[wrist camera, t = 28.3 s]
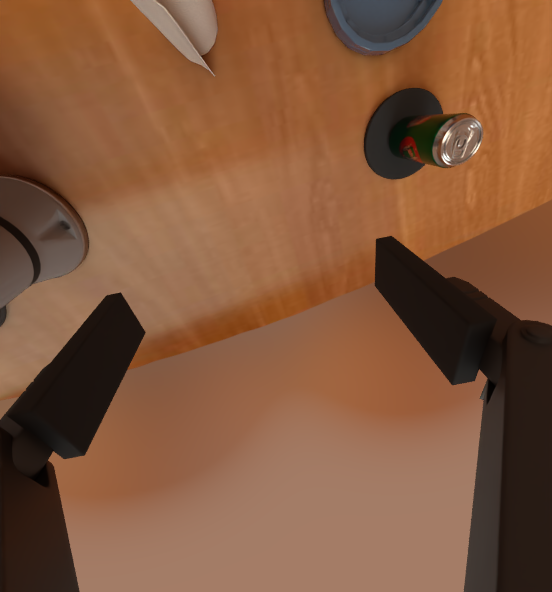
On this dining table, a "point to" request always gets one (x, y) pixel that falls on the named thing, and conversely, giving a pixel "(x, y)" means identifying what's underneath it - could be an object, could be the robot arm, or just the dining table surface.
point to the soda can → (436, 139)
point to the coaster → (384, 122)
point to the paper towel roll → (184, 24)
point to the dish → (378, 22)
